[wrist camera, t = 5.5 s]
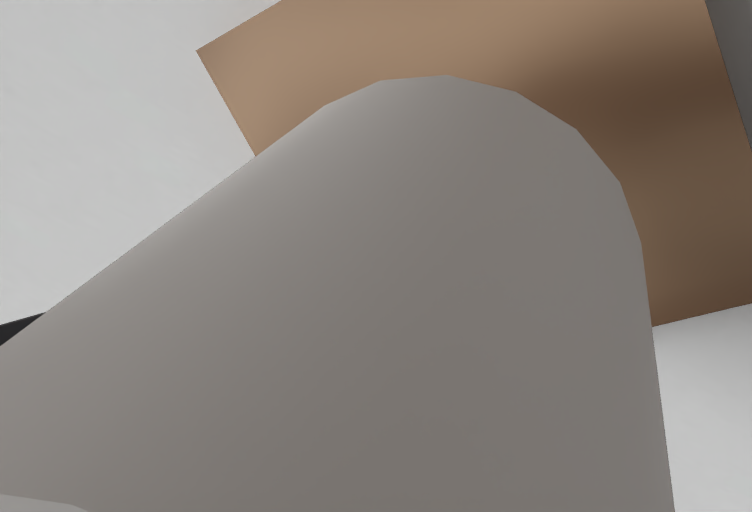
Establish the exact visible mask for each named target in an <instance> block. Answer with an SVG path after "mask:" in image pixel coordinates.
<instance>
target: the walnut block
mask: <svg viewBox="0 0 752 512" xmlns="http://www.w3.org/2000/svg"><path fill="white" fill-rule="evenodd" d="M196 52H197V53H198V55H199V57H200V59H201V61H202V62H203V64H204V66H205V68H206V69H207V71H208V73H209V75H210V77H211V78H212V80H213V82H214V84H215V85H216V87H217V89H218V91H219V92H220V94H221V96H222V98H223V100H224V101H225V103H226V105H227V107H228V108H229V110H230V112H231V114H232V115H233V117H234V119H235V121H236V123H237V124H238V126H239V128H240V130H241V131H242V133H243V135H244V137H245V139H246V140H247V142H248V144H249V146H250V147H251V149H252V151H253V153H254V154H255V156H257V155H258V154H260V153H261V152H263V151H264V150H265V149H267V148H268V147H269V146H271V145H272V144H273V143H275V142H276V141H277V140H279V139H280V138H281V137H283V136H284V135H285V134H287V133H288V132H289V131H291V130H292V129H293V128H295V127H296V126H298V125H299V124H300V123H302V122H303V121H304V120H306V119H307V118H308V117H310V116H311V115H312V114H314V113H315V112H316V111H318V110H319V109H320V108H322V107H323V106H324V105H327V104H329V103H331V102H333V101H336V100H338V99H340V98H342V97H345V96H347V95H349V94H351V93H354V92H356V91H358V90H360V89H363V88H365V87H367V86H369V85H372V84H374V83H376V82H378V81H381V80H392V79H405V78H417V77H429V76H441V75H449V76H453V77H457V78H462V79H466V80H470V81H474V82H478V83H482V84H486V85H490V86H494V87H498V88H503V89H507V90H511V91H515V92H517V93H519V94H520V95H522V96H524V97H525V98H527V99H528V100H530V101H532V102H533V103H535V104H536V105H538V106H540V107H541V108H543V109H544V110H546V111H548V112H549V113H551V114H552V115H554V116H556V117H557V118H559V119H561V120H562V121H564V122H565V123H567V124H569V125H570V126H572V127H573V128H575V129H577V131H578V132H579V133H580V134H581V136H582V137H583V138H584V139H585V140H586V142H587V143H588V144H589V145H590V146H591V148H592V149H593V150H594V151H595V153H596V154H597V155H598V156H599V157H600V159H601V160H602V161H603V162H604V164H605V165H606V166H607V167H608V168H609V170H610V171H611V172H612V173H613V175H614V176H615V177H616V178H617V179H618V181H619V182H620V184H621V187H622V190H623V192H624V195H625V198H626V201H627V204H628V207H629V209H630V212H631V215H632V218H633V221H634V224H635V227H636V229H637V232H638V235H639V238H640V241H641V246H642V254H643V262H644V270H645V278H646V285H647V293H648V301H649V309H650V317H651V325H652V327H653V326H658V325H662V324H666V323H670V322H674V321H679V320H683V319H687V318H691V317H695V316H700V315H704V314H708V313H712V312H716V311H721V310H725V309H729V308H733V307H737V306H742V305H746V304H750V303H752V151H751V147H750V144H749V141H748V138H747V135H746V131H745V128H744V125H743V122H742V119H741V115H740V112H739V109H738V106H737V103H736V99H735V96H734V93H733V90H732V86H731V83H730V80H729V77H728V74H727V70H726V67H725V64H724V61H723V58H722V54H721V51H720V48H719V45H718V42H717V38H716V35H715V32H714V29H713V25H712V22H711V19H710V16H709V13H708V9H707V6H706V3H705V0H281V1H280V2H278V3H276V4H275V5H273V6H271V7H270V8H268V9H266V10H264V11H263V12H261V13H259V14H258V15H256V16H254V17H252V18H251V19H249V20H247V21H246V22H244V23H242V24H241V25H239V26H237V27H235V28H234V29H232V30H230V31H229V32H227V33H225V34H223V35H222V36H220V37H218V38H217V39H215V40H213V41H212V42H210V43H208V44H206V45H205V46H203V47H201V48H200V49H198V50H196Z"/></svg>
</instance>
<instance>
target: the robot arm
mask: <svg viewBox="0 0 752 512" xmlns="http://www.w3.org/2000/svg"><path fill="white" fill-rule="evenodd" d="M44 313H46V312H44ZM44 313H41V314H37V315H34V316H30V317H27V318H23V319H20V320H16V321H13V322H9V323H6V324H2V325H0V346H1V345H3V344H4V343H5V342H7V341H8V340H9V339H11V338H12V337H13V336H15V335H16V334H17V333H19V332H20V331H21V330H23V329H24V328H26V327H27V326H28V325H30V324H31V323H32V322H34V321H35V320H36V319H38V318H39V317H40V316H42V315H43V314H44Z"/></svg>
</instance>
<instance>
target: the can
mask: <svg viewBox="0 0 752 512" xmlns="http://www.w3.org/2000/svg"><path fill="white" fill-rule="evenodd" d="M0 512H675V508H674V501H673V493H672V485H671V477H670V469H669V461H668V453H667V445H666V437H665V429H664V421H663V413H662V405H661V397H660V389H659V381H658V373H657V365H656V357H655V349H654V341H653V333H652V325H651V317H650V309H649V301H648V293H647V285H646V278H645V270H644V262H643V254H642V246H641V241H640V238H639V235H638V232H637V229H636V227H635V224H634V221H633V218H632V215H631V212H630V209H629V207H628V204H627V201H626V198H625V195H624V192H623V190H622V187H621V184H620V182H619V181H618V179H617V178H616V177H615V176H614V175H613V173H612V172H611V171H610V170H609V168H608V167H607V166H606V165H605V164H604V162H603V161H602V160H601V159H600V157H599V156H598V155H597V154H596V153H595V151H594V150H593V149H592V148H591V146H590V145H589V144H588V143H587V142H586V140H585V139H584V138H583V137H582V136H581V134H580V133H579V132H578V131H577V129H575V128H573V127H572V126H570V125H569V124H567V123H565V122H564V121H562V120H561V119H559V118H557V117H556V116H554V115H552V114H551V113H549V112H548V111H546V110H544V109H543V108H541V107H540V106H538V105H536V104H535V103H533V102H532V101H530V100H528V99H527V98H525V97H524V96H522V95H520V94H519V93H517V92H515V91H511V90H507V89H503V88H498V87H494V86H490V85H486V84H482V83H478V82H474V81H470V80H466V79H462V78H457V77H453V76H449V75H441V76H429V77H417V78H405V79H392V80H381V81H378V82H376V83H374V84H372V85H369V86H367V87H365V88H363V89H360V90H358V91H356V92H354V93H351V94H349V95H347V96H345V97H342V98H340V99H338V100H336V101H333V102H331V103H329V104H327V105H324V106H323V107H322V108H320V109H319V110H318V111H316V112H315V113H314V114H312V115H311V116H310V117H308V118H307V119H306V120H304V121H303V122H302V123H300V124H299V125H298V126H296V127H295V128H293V129H292V130H291V131H289V132H288V133H287V134H285V135H284V136H283V137H281V138H280V139H279V140H277V141H276V142H275V143H273V144H272V145H271V146H269V147H268V148H267V149H265V150H264V151H263V152H261V153H260V154H258V155H257V156H256V157H254V158H253V159H252V160H250V161H249V162H248V163H246V164H245V165H244V166H242V167H241V168H240V169H238V170H237V171H236V172H234V173H233V174H232V175H230V176H229V177H228V178H226V179H225V180H223V181H222V182H221V183H219V184H218V185H217V186H215V187H214V188H213V189H211V190H210V191H209V192H207V193H206V194H205V195H203V196H202V197H201V198H199V199H198V200H197V201H195V202H194V203H192V204H191V205H190V206H188V207H187V208H186V209H184V210H183V211H182V212H180V213H179V214H178V215H176V216H175V217H174V218H172V219H171V220H170V221H168V222H167V223H166V224H164V225H163V226H162V227H160V228H159V229H157V230H156V231H155V232H153V233H152V234H151V235H149V236H148V237H147V238H145V239H144V240H143V241H141V242H140V243H139V244H137V245H136V246H135V247H133V248H132V249H131V250H129V251H128V252H127V253H125V254H124V255H122V256H121V257H120V258H118V259H117V260H116V261H114V262H113V263H112V264H110V265H109V266H108V267H106V268H105V269H104V270H102V271H101V272H100V273H98V274H97V275H96V276H94V277H93V278H92V279H90V280H89V281H87V282H86V283H85V284H83V285H82V286H81V287H79V288H78V289H77V290H75V291H74V292H73V293H71V294H70V295H69V296H67V297H66V298H65V299H63V300H62V301H61V302H59V303H58V304H57V305H55V306H54V307H52V308H51V309H50V310H48V311H47V312H46V313H44V314H43V315H42V316H40V317H39V318H38V319H36V320H35V321H34V322H32V323H31V324H30V325H28V326H27V327H26V328H24V329H23V330H21V331H20V332H19V333H17V334H16V335H15V336H13V337H12V338H11V339H9V340H8V341H7V342H5V343H4V344H3V345H1V346H0Z"/></svg>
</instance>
